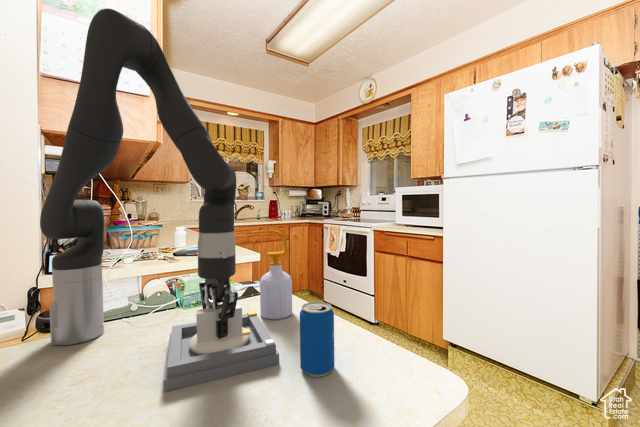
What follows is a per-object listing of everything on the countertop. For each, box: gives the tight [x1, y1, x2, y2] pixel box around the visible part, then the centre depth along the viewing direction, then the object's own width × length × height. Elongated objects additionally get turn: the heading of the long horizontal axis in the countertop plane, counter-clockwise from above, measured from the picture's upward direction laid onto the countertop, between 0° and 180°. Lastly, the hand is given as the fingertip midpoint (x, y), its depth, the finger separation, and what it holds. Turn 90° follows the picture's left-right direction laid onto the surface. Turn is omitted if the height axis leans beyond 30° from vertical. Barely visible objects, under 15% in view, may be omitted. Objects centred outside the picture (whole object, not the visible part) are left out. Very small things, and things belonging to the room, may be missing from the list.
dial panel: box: [163, 310, 280, 393], centre depth 62 cm, size 20×20×4 cm
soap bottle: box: [259, 228, 293, 320], centre depth 83 cm, size 9×9×25 cm
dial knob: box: [189, 304, 250, 355], centre depth 62 cm, size 12×12×7 cm
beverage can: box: [299, 301, 335, 378], centre depth 55 cm, size 6×6×12 cm
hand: (217, 333), depth 62 cm, fingers closed on dial knob, 3 cm apart
